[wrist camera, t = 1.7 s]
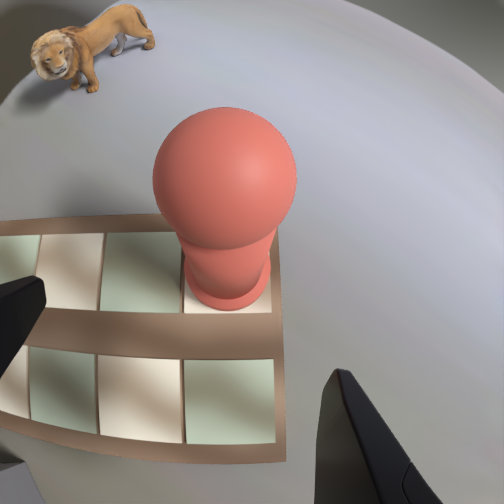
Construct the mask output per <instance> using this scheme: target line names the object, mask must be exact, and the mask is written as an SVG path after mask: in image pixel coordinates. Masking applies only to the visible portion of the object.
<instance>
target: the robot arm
mask: <svg viewBox="0 0 504 504" xmlns="http://www.w3.org/2000/svg"><path fill="white" fill-rule="evenodd" d="M46 303H47V298H46V292H45V286H44V281H43V280H42V279H41V278H39V277H37V276H34V275H30V276H27V277H23V278H20V279H16V280H13V281H10V282H6V283H3V284H0V379H1V377H2V376H3V374H4V373H5V371H6V370H7V368H8V366H9V365H10V363H11V362H12V360H13V359H14V357H15V356H16V354H17V353H18V352H19V350H20V349H21V347H22V346H23V344H24V343H25V341H26V339H27V338H28V336H29V334H30V332H31V331H32V329H33V327H34V325H35V324H36V322H37V320H38V318H39V317H40V315H41V313H42V312H43V310H44V308H45V306H46ZM410 461H411V460H410V458H409V457H408V455H407V454H406V452H405V451H404V449H403V448H402V446H401V445H400V443H399V442H398V441H397V439H396V438H395V436H394V435H393V433H392V432H391V430H390V429H389V427H388V426H387V424H386V423H385V421H384V420H383V418H382V417H381V415H380V414H379V413H378V411H377V410H376V408H375V407H374V405H373V404H372V402H371V401H370V399H369V398H368V396H367V395H366V394H365V392H364V391H363V389H362V388H361V386H360V385H359V383H358V382H357V380H356V379H355V378H354V376H353V375H352V373H351V372H350V371H348V370H344V369H339V368H337V369H335V370H334V371H333V373H332V374H331V376H330V378H329V380H328V381H327V383H326V385H325V387H324V389H323V393H322V400H321V408H320V416H319V424H318V431H317V439H316V470H315V496H314V504H443V503H442V502H441V500H440V499H439V498H438V497H437V496H436V494H435V493H434V492H433V491H432V489H431V488H430V487H429V486H428V484H427V483H426V481H425V480H424V479H423V477H422V476H421V474H420V473H419V472H418V470H417V469H416V467H415V466H414V464H413V463H412V462H410Z"/></svg>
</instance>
